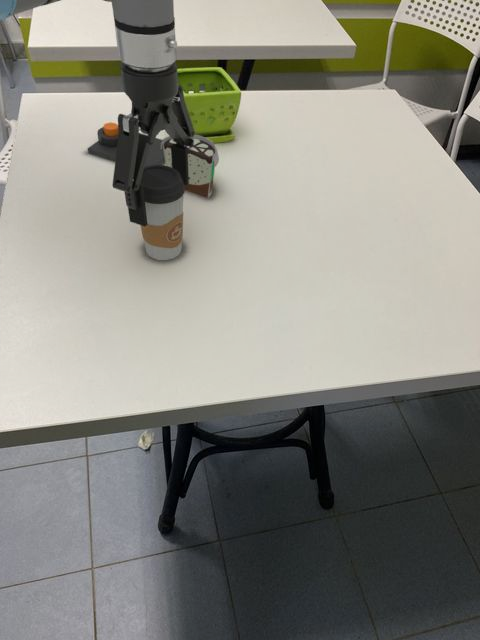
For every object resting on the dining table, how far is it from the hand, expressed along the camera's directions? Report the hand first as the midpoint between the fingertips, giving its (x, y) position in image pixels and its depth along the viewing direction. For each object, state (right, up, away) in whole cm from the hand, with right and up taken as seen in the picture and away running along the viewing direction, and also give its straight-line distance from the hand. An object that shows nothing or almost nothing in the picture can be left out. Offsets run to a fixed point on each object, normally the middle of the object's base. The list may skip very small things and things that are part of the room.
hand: (161, 201), depth 82 cm
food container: (+3, +10, +23) cm, 25 cm away
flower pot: (+3, +27, +38) cm, 47 cm away
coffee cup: (-1, -7, +8) cm, 11 cm away
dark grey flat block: (-12, +20, +29) cm, 37 cm away
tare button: (-17, +24, +28) cm, 40 cm away
